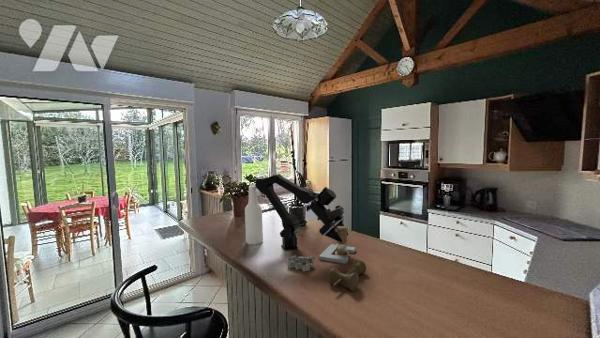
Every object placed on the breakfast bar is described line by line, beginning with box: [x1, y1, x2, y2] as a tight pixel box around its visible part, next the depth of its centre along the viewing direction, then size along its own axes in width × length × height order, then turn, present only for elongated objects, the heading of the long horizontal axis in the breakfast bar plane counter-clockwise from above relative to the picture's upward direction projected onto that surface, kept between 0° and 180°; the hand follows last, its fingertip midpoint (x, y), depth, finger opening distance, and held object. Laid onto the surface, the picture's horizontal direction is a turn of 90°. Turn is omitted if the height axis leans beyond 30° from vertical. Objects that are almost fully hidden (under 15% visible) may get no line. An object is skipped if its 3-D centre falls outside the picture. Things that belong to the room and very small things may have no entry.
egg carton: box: [286, 254, 316, 272], centre depth 111 cm, size 11×8×4 cm
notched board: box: [318, 243, 356, 265], centre depth 122 cm, size 12×16×2 cm
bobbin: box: [334, 225, 350, 258], centre depth 121 cm, size 6×6×13 cm
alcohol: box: [244, 185, 264, 246], centre depth 141 cm, size 9×9×30 cm
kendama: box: [328, 259, 367, 292], centre depth 97 cm, size 6×10×20 cm
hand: (345, 238), depth 120 cm, fingers open, 9 cm apart
